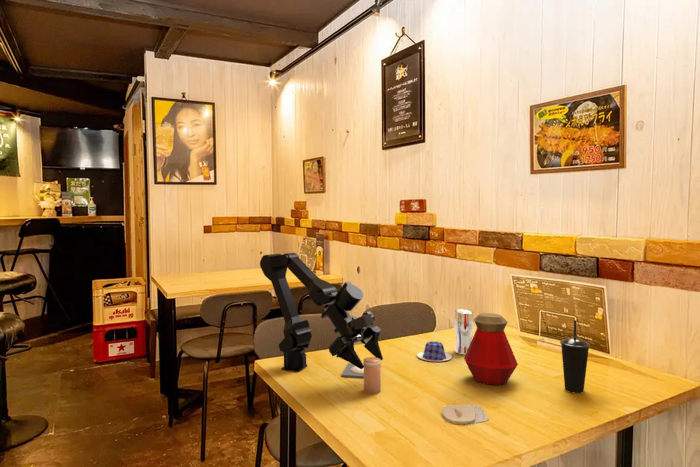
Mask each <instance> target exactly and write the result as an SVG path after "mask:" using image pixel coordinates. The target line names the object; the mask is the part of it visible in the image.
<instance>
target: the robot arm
mask: <svg viewBox="0 0 700 467" xmlns="http://www.w3.org/2000/svg"><path fill="white" fill-rule="evenodd" d="M259 266H260V269H261V271H262V274H263V275H264V276H265V278H267V279H268V280H269V281H270V282H271V284H272V287H273V290H274V294H275V296H276V299H277V304H278V305H279V308H280V311H281V314H282V317H283V319H284V327H283V336H284V338H283V339H282V340H281V341H280V343H279V344H278V348H279V351H280V352H283V366H282V367H281V370H282V371H290V372H300V371H302V370H304V369H305V368H306V367H308V364H307V353H306V349H308V348H309V346H310V343H311V340H312V337H313V336H312V335H313V334H312V331H313V330H312V329H311V327H310V322H309V321H308V320H307V319H303V318H302V317H300V315H299V312H298V309H297V306H296V303H295V301H294V300H295V299H294V297H293V295H292V290H291V289H290V285H289V283H288V280H287V273H288V272H287V271H288V270H289V271H290V272H291V274H293V275H294V276H295V278H297V279H298V281H299V282H301V283H302V285H303V286H304V287H305V288H306V289H307V292H308V293H307V294H308V296H309V298H310V299H311V301H312V303H313V304H314V305H315V306H316V307H323V306H327V305H328V306H327V307H326V308H323V309H322V310H321V316H320V317H321V319H324V318H325V319H326V318H328V319H329V320H330V322H331V324H332V326H334V330H333V331H334V333H335V334H339V335H340V336H337V337H336V338H335V340H333V341H332V342H331V344H330V345H329V346H328V352H329V354H330V355H331V356H332V357H334V356H336V358H340V359H342V360H344V361H346V362H348V364H353V365H355V366H356V367H358V368H360V369H363V368H364V366H363V362H362V360H361V359H360V357H359V355H358V353H357V352H356V351H355V344H357V343H359V342H360V343H361V344H363V347H364V348H365V349H366V350H367V351H368V352H369V353H370V354H371V355H373V357H376V358H379V359H380V360H381V361H383V360H384V358H383V355H382V351H381V348H380V344H379V337H380V335H381V332H382V330H381V328H380V327H379V325H375V321H376V318H375V317H376V316H375V315H374V314H373V313H372V311H370V310H368V311H366V312H363V314H362V316H359V317H357V316H355V315H352V316H351V314H350V313H349V312H351V311H353V310H354V309H355V307H356V306H357V305H358V304H359V303H360V301H361V300H362V299H363V298H364V293H363V291H362V289H361V288H359V286H356V285H354V284H352V283H351V281H346V282H344V283H343V284H342V285H341V288H340V289H337V288H336V287H335V285H332V284H331V283H330V282H329V281H326V280H324V279H321V278H320V277H318V276H317V274H316V273H314V271H313V270H312V269H311V268H310V267H309V266H308V265H307V264H305V262H304V261H303V260H302V259H301V258H300V257H299V255H298V253H296V252H287V253H283V254H281V253H271V254H264V255H263V256H262V257H261V258H260V260H259Z"/></svg>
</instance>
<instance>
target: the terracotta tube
mask: <svg viewBox="0 0 700 467" xmlns="http://www.w3.org/2000/svg"><path fill="white" fill-rule="evenodd" d="M362 364H364V378H363V393H366V394H368V395H377V394H380V393H381V391H382V388H381V387H382V384H381V382H382V381H381V380H382V379H381V377H382V375H381V373H382V372H381V371H382V370H381V368H382V365H381V364H382V360H380V359H379V358H376V357H375V356H372V357H371V356H370V357H365V358H363V362H362Z"/></svg>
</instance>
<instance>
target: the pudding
mask: <svg viewBox="0 0 700 467" xmlns="http://www.w3.org/2000/svg"><path fill="white" fill-rule="evenodd" d="M416 356H417V357H418V358H419V359H421V360H424V361H427V362H428V361H429V362H438V361H441V362H445V361H449V360H451V359H452V357H453V356H452V355H451V354H450V353H448V352H446V351H445V347H444V344H443V343H442V342H440V341H433V340H432V341H431V340H430V341H427V342H426V344H425V346H424V349H423V351H420V352H418V353H417V355H416Z"/></svg>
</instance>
